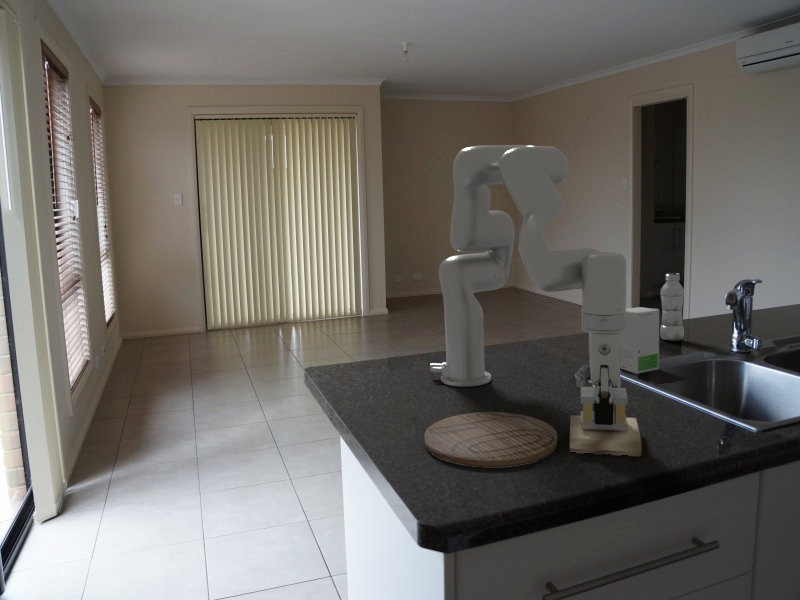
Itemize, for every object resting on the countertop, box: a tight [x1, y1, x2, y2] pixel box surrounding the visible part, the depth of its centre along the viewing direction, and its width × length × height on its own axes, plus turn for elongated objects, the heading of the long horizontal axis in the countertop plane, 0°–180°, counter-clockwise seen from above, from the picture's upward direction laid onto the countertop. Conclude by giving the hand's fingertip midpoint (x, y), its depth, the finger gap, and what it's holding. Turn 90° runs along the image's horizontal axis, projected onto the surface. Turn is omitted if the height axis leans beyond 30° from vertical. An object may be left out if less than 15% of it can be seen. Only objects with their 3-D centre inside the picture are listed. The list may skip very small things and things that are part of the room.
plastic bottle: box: [659, 272, 685, 342], centre depth 196 cm, size 6×7×20 cm
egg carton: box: [574, 363, 594, 389], centre depth 159 cm, size 11×8×4 cm
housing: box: [580, 387, 629, 431], centre depth 121 cm, size 6×8×6 cm
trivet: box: [423, 411, 558, 467], centre depth 126 cm, size 25×25×2 cm
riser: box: [569, 414, 642, 457], centre depth 122 cm, size 12×12×3 cm
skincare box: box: [619, 306, 660, 375], centre depth 168 cm, size 8×7×16 cm
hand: (603, 416), depth 122 cm, fingers closed on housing, 6 cm apart
